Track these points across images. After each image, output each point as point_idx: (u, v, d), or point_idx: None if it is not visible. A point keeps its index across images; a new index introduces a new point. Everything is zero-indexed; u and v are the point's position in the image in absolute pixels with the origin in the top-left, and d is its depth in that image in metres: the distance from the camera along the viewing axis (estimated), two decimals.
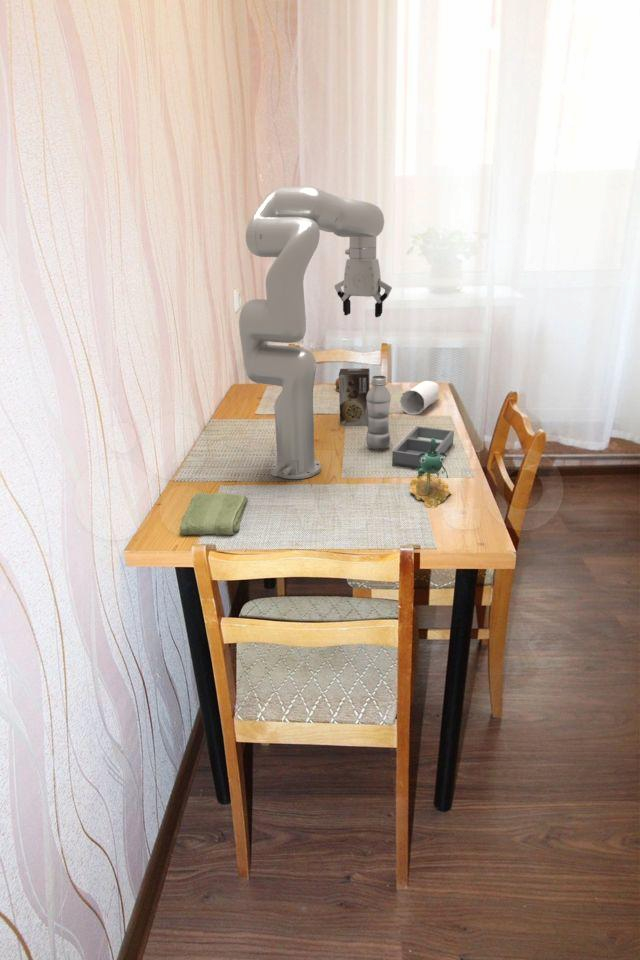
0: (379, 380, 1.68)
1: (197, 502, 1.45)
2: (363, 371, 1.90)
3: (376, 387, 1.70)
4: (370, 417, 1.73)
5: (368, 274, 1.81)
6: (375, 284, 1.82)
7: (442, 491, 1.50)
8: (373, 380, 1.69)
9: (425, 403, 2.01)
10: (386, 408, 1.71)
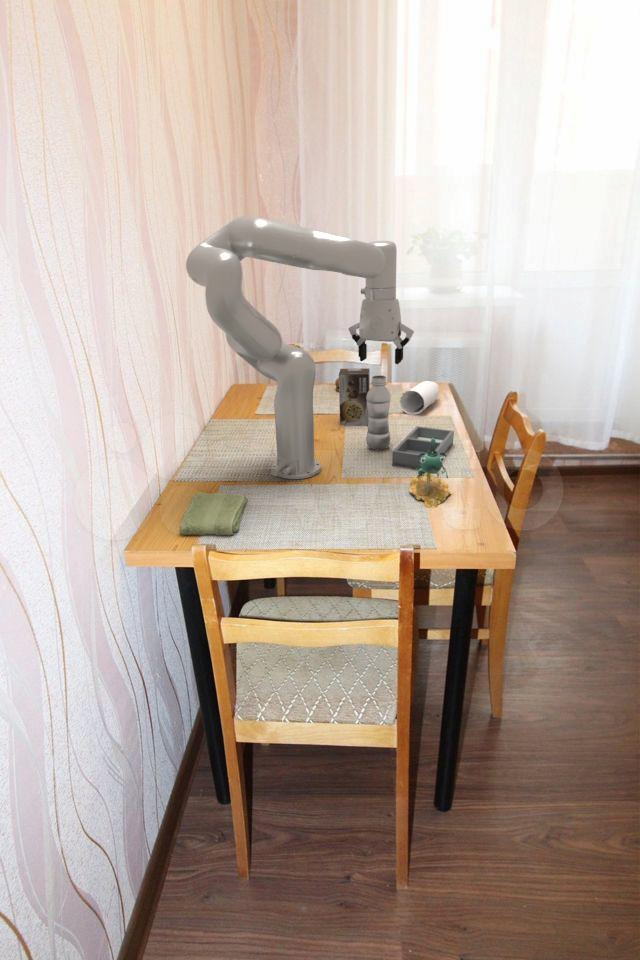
0: (379, 380, 1.68)
1: (197, 502, 1.45)
2: (363, 371, 1.90)
3: (376, 387, 1.70)
4: (370, 417, 1.73)
5: (387, 317, 1.60)
6: (395, 328, 1.61)
7: (442, 491, 1.50)
8: (373, 380, 1.69)
9: (425, 403, 2.00)
10: (386, 408, 1.71)
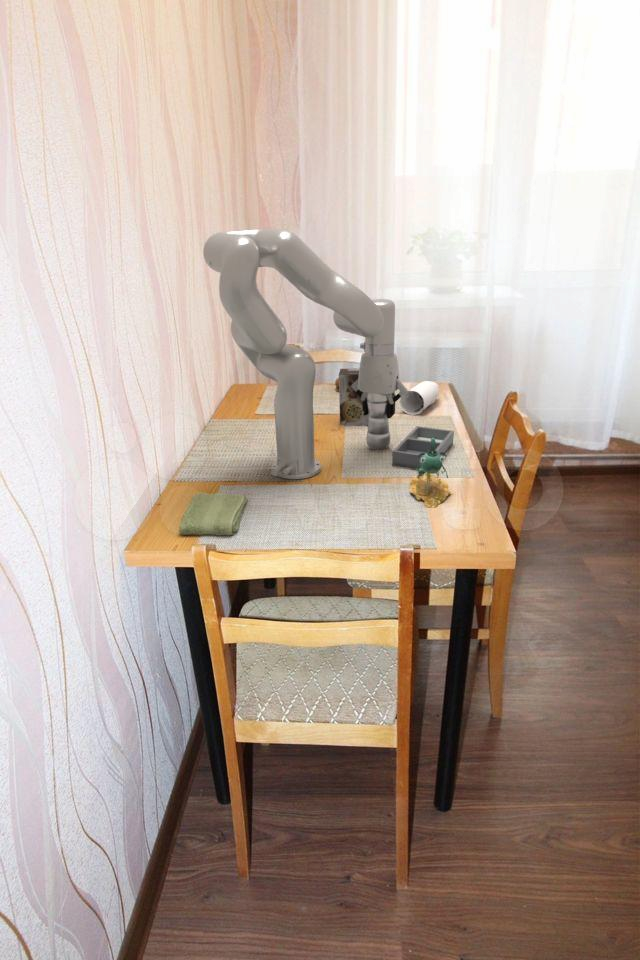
0: None
1: (197, 502, 1.45)
2: None
3: None
4: (370, 417, 1.73)
5: (385, 372, 1.66)
6: (393, 382, 1.66)
7: (442, 491, 1.50)
8: None
9: (425, 403, 2.00)
10: (386, 408, 1.71)
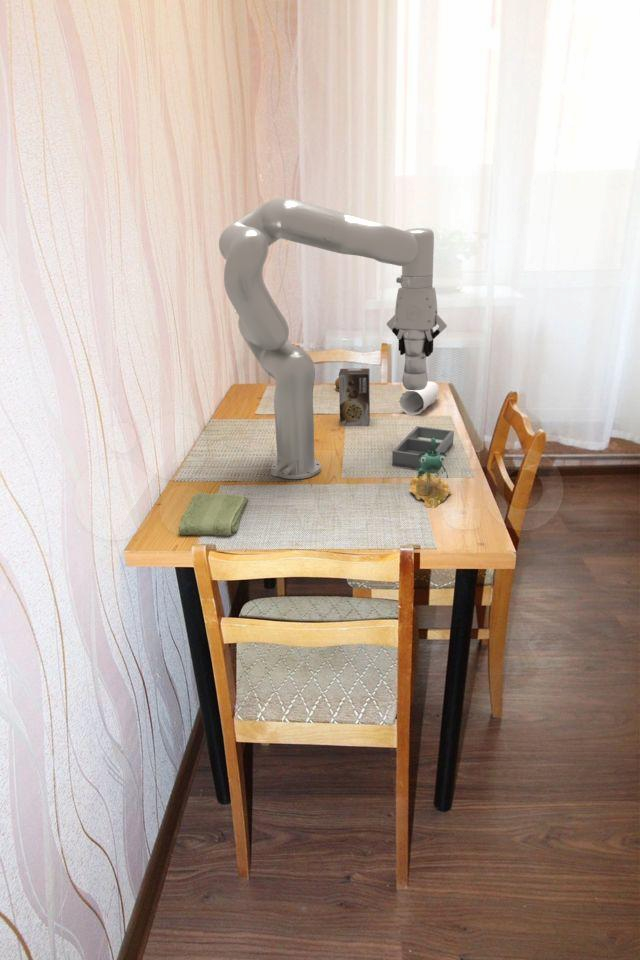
0: None
1: (197, 502, 1.45)
2: (363, 371, 1.90)
3: None
4: (407, 356, 1.66)
5: (424, 306, 1.58)
6: (432, 317, 1.59)
7: (442, 491, 1.50)
8: None
9: (425, 403, 2.00)
10: (424, 345, 1.64)
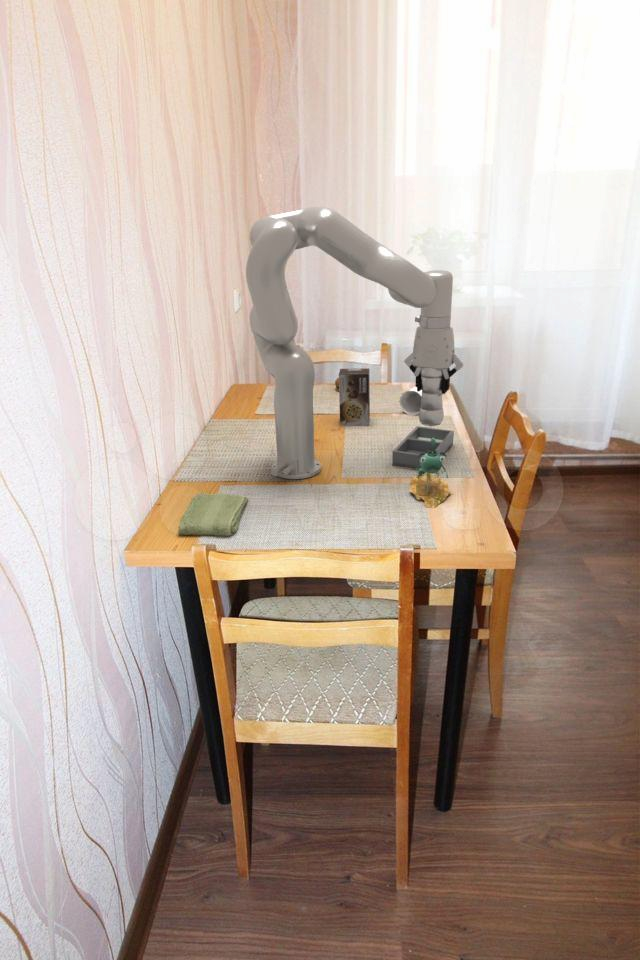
0: None
1: (197, 502, 1.45)
2: (363, 371, 1.90)
3: None
4: (424, 392, 1.69)
5: (442, 345, 1.62)
6: (449, 356, 1.62)
7: (442, 491, 1.50)
8: None
9: None
10: (441, 383, 1.67)
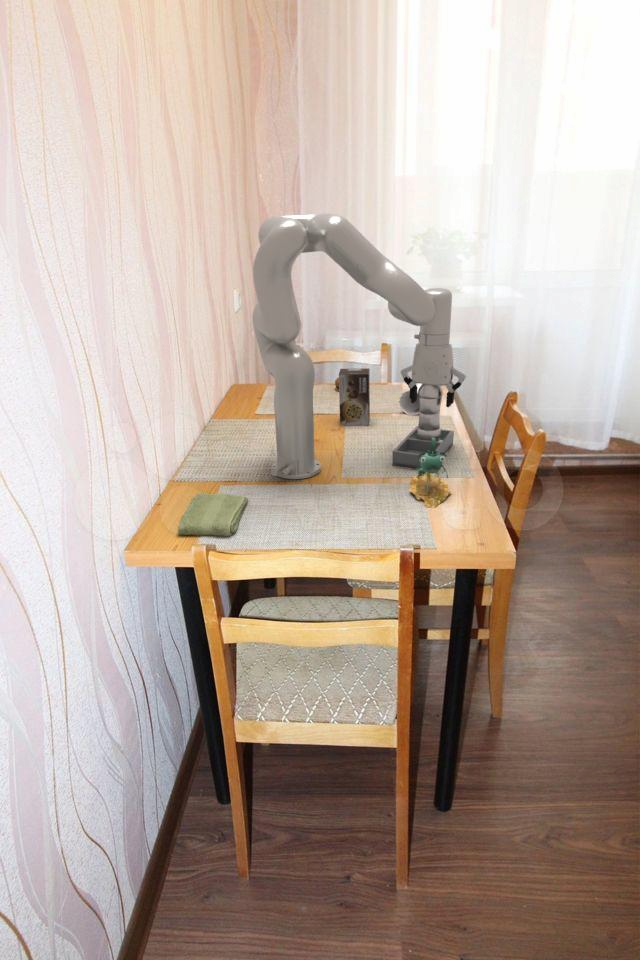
0: None
1: (197, 502, 1.45)
2: (363, 371, 1.90)
3: None
4: (422, 413, 1.71)
5: (441, 362, 1.63)
6: (448, 373, 1.64)
7: (442, 491, 1.50)
8: None
9: None
10: (438, 404, 1.70)
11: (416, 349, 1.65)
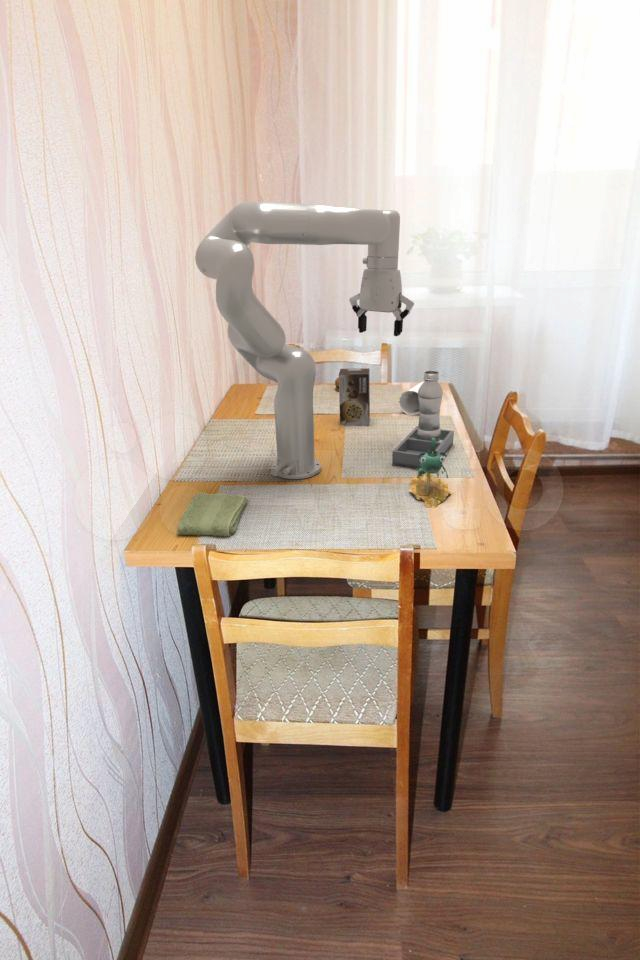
0: (432, 375, 1.67)
1: (197, 502, 1.45)
2: (363, 371, 1.90)
3: (429, 382, 1.68)
4: (422, 413, 1.71)
5: (388, 287, 1.59)
6: (395, 299, 1.59)
7: (442, 491, 1.50)
8: (426, 375, 1.68)
9: None
10: (438, 404, 1.70)
11: (364, 274, 1.61)
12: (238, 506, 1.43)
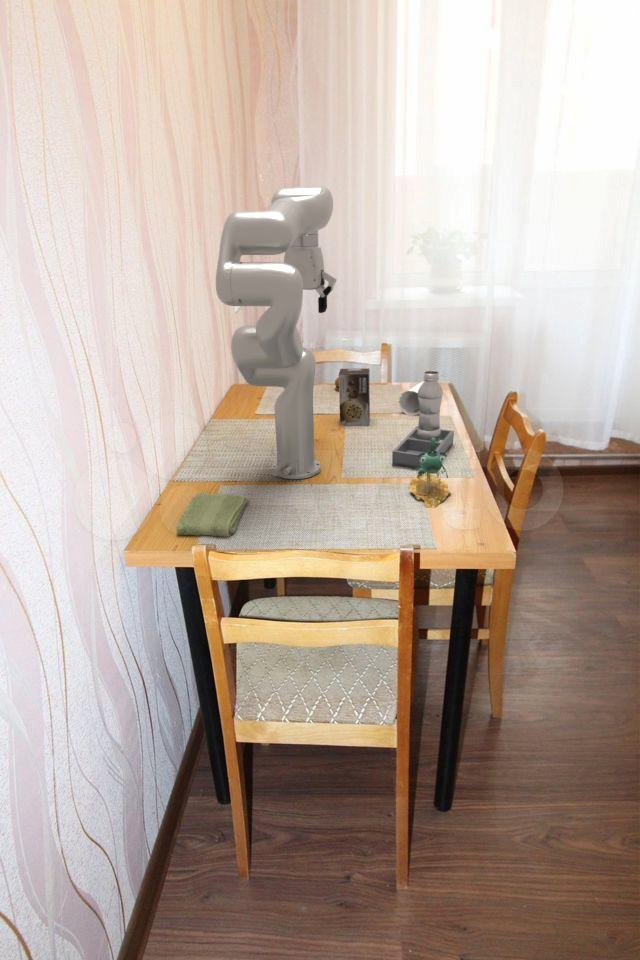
0: (432, 375, 1.67)
1: (197, 502, 1.45)
2: (363, 371, 1.90)
3: (429, 382, 1.68)
4: (422, 413, 1.71)
5: (309, 264, 1.61)
6: (317, 276, 1.62)
7: (442, 491, 1.50)
8: (426, 375, 1.68)
9: None
10: (438, 404, 1.70)
11: (285, 252, 1.63)
12: (238, 506, 1.43)
